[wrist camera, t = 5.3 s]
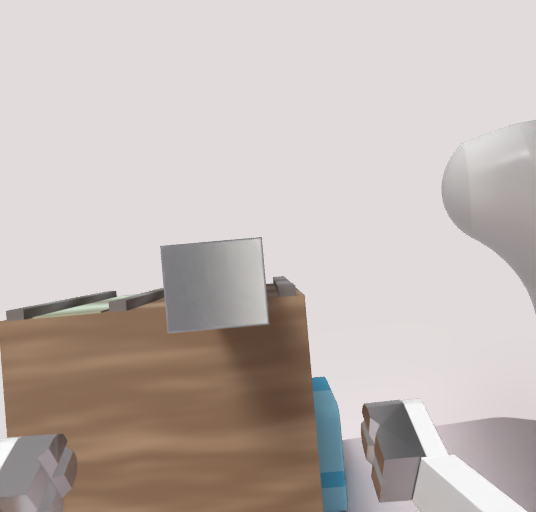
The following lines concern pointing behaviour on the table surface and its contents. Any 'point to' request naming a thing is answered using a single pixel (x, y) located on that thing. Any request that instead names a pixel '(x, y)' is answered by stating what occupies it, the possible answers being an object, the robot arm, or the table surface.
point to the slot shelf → (168, 403)
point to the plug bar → (214, 285)
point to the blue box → (329, 447)
